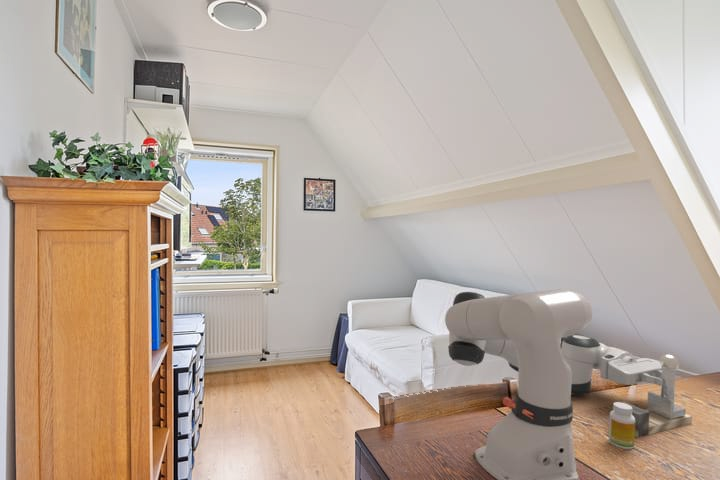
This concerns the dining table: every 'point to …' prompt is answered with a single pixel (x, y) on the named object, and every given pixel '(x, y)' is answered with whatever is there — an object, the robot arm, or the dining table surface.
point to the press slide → (666, 391)
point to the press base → (654, 421)
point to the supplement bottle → (622, 426)
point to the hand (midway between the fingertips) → (668, 381)
